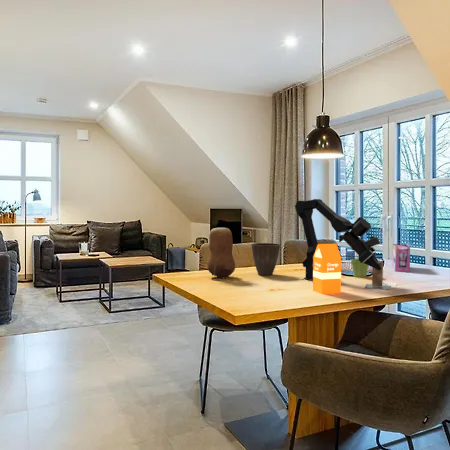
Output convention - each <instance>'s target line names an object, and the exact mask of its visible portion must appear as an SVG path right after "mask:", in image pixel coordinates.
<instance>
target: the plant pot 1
mask: <svg viewBox="0 0 450 450" xmlns="http://www.w3.org/2000/svg"><path fill="white" fill-rule="evenodd" d="M280 248H281V244H280V243H274V242H273V243H272V242H271V243H269V242H268V243H266V242H256V243H255V242H253V243H251V250H252V251H251V252H252V258H253V262H254V266H255V269H256V272H257V275H258V276H267V277H268V276H273V273H274V272H275V270H276V269H275V268H276V266H277V262H278V259H279V254H280Z"/></svg>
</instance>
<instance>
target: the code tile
mask: <svg viewBox="0 0 450 450" xmlns="http://www.w3.org/2000/svg"><path fill="white" fill-rule="evenodd" d="M383 285H390V287H397V282H385V281H383Z"/></svg>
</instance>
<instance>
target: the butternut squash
mask: <svg viewBox="0 0 450 450" xmlns="http://www.w3.org/2000/svg"><path fill="white" fill-rule="evenodd" d="M208 242H209V243H208V248H209V251H210V252H209V255H208V256H209V257H208V260H207V270H208V272H209V273H210V274H211V275H212V276H213V277H214V276H215V277H216V276H217V277H216V278H219V277H222V278H221V279H224V277H227V278H228V277H230V276H231V275H232V274H233V273H234V272H235V270H236V262H235V259H234V256H233V246H234V245H233V244H234V241H233V234H232V231H231V230H230V228H228V227H215V228H212V229H211V230H210V231H209V238H208Z"/></svg>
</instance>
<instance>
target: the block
mask: <svg viewBox="0 0 450 450" xmlns="http://www.w3.org/2000/svg"><path fill="white" fill-rule="evenodd" d="M377 263H378V264H379V266H380V267H381V270H378V269H375V268H373V267H371V268H372V270H371V271H372V275H371V276H372V278H371V284H372V286H382V285H383V282H384V281H383V280H384V277H383V276H384V262H383V261H379V262H377Z"/></svg>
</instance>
